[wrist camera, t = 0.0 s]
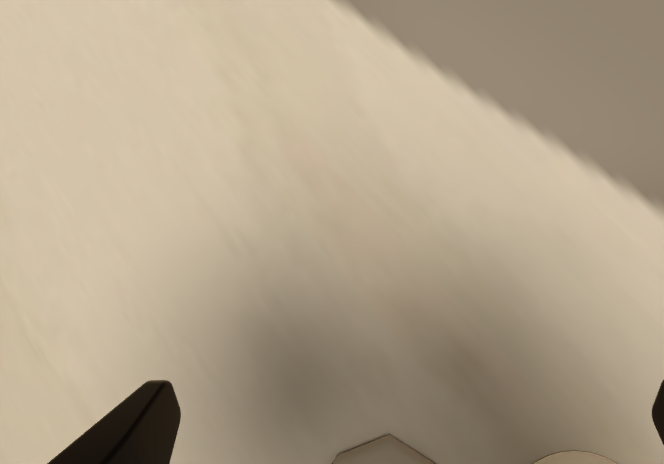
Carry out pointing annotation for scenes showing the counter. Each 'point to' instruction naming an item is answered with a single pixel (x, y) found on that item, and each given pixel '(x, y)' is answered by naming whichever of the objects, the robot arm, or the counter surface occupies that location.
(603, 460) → the cylindrical container
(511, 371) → the counter surface
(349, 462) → the flask
